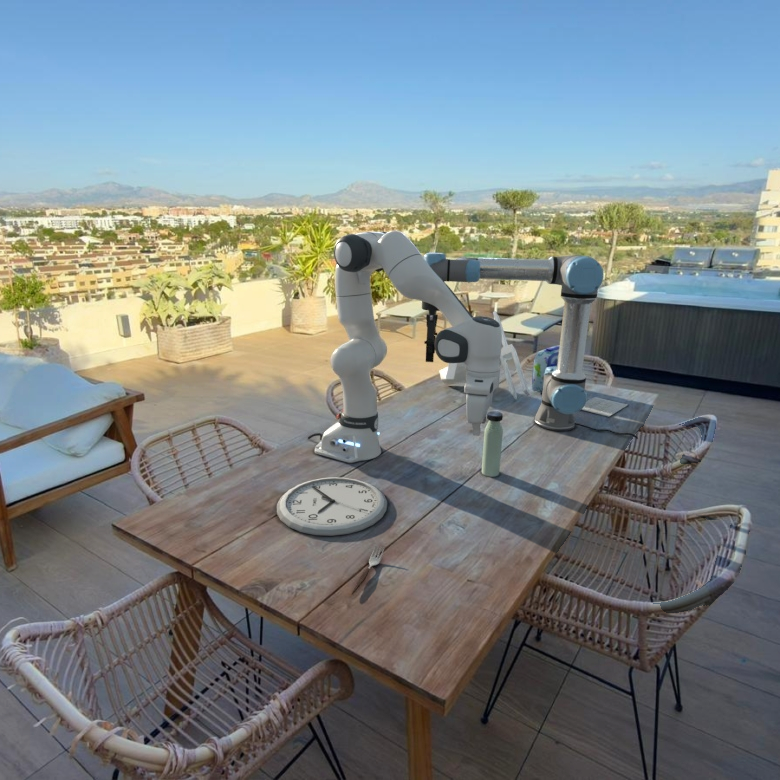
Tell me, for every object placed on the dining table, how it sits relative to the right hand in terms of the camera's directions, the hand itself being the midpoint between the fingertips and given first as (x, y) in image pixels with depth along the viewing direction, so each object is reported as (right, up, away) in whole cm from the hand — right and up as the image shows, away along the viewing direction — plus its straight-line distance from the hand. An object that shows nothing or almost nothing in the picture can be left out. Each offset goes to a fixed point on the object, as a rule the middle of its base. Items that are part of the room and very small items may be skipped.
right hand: (430, 357), depth 190 cm
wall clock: (-30, -43, -47) cm, 71 cm away
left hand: (+10, -22, -48) cm, 54 cm away
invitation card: (+77, -19, +37) cm, 87 cm away
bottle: (+17, -38, -26) cm, 49 cm away
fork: (-20, -52, -75) cm, 93 cm away
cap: (+17, -19, -32) cm, 41 cm away
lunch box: (+62, -12, +59) cm, 86 cm away
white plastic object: (+27, -13, +54) cm, 61 cm away
